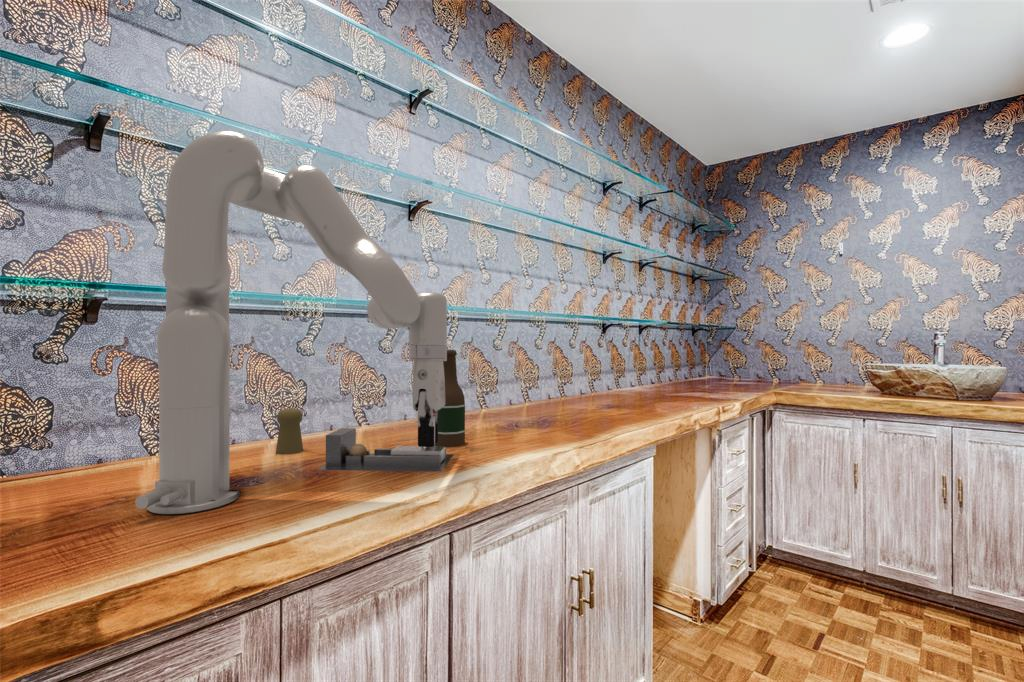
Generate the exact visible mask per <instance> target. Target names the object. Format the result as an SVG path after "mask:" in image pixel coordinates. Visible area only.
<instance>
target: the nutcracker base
mask: <svg viewBox="0 0 1024 682" xmlns="http://www.w3.org/2000/svg"><path fill="white" fill-rule="evenodd" d="M355 444H357V427H356V428H355V427H350V428H349V427H342V428H339V429H337V430H335V431H332V432H330V433H328V434H326V435H325V464H324V465H322V466H320V467H319V468H316V471H361V472H362V471H369V472H371V471H372V472H373V471H374V472H376V471H377V472H380V471H381V472H433V473H434V472H437V473H438V472H439V473H440V472H442V471H443V469H445V467H446V465H447V464H448V463H449V462H450V460H451V459H452V458H453V456H454V454H452V453H450V454H449V453H447V449H446V448H445V459H444V460H443V461H442V462H441V463H440V456H391V450H392V449H393V448H375V449H374V450H373V451H374V452H373V453H371V450H368V449H367V455H366V456H364V459H363V460H362V456H360V455H349V451H350V448H351V447H352V446H353V445H355Z"/></svg>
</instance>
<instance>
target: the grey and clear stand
mask: <svg viewBox="0 0 1024 682" xmlns="http://www.w3.org/2000/svg"><path fill="white" fill-rule="evenodd" d="M435 415H436V411H433V426H434V446H433V447H419V446H418V445H416V446H415V445H396V446H395V447H393V448H391V449H392V450H391V456H440V463H441V462H442V461H443V460H444V459H445V449H446V447H440V446H435ZM428 416H429V414H428Z"/></svg>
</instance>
